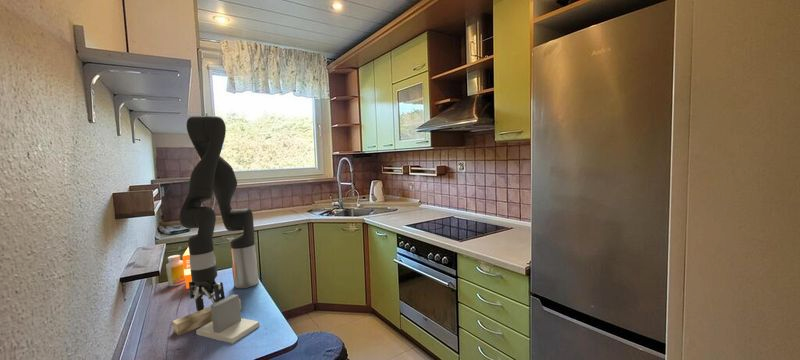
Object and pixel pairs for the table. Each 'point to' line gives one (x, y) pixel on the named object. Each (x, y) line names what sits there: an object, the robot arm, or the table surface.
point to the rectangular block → (193, 320)
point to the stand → (227, 321)
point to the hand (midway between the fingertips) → (208, 311)
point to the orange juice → (187, 267)
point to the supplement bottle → (175, 271)
